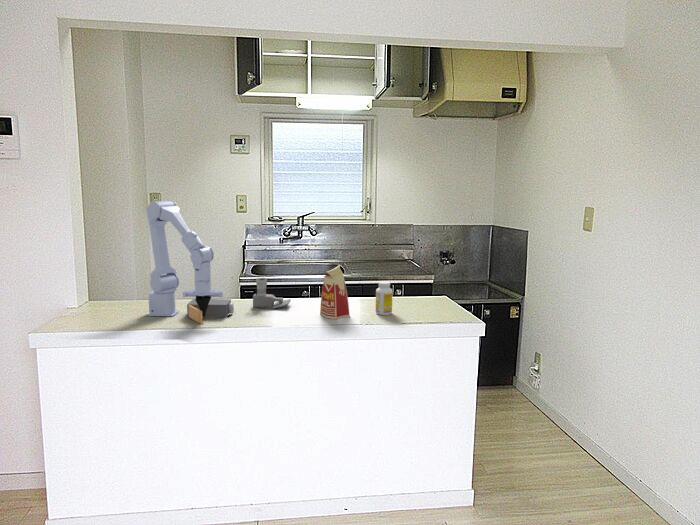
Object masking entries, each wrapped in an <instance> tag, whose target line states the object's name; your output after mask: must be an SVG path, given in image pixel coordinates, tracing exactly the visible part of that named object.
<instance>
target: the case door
mask: <svg viewBox="0 0 700 525" xmlns="http://www.w3.org/2000/svg"><path fill="white" fill-rule="evenodd" d="M187 318H190V319H192V320H193V321H195V322H196V323H199V324H203V317H202V311H201V310H199V309H197V308H195V307H193V306H191V305H188V316H187Z"/></svg>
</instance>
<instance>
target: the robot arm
mask: <svg viewBox="0 0 700 525" xmlns="http://www.w3.org/2000/svg"><path fill="white" fill-rule="evenodd" d="M180 210H181V209H180V207H179V206H178V204H177V202H176V201H175V200H164V201H162V200H161V201H151V202H149V204H148V206H147V207H146V212H147V220H148V227H149V233H150V240H151V246H152V252H153V259H154V265H155V268H154V269H153V270H152V271H151V272H150V273H149V274H150V280H149V281H150V282H149V286H150V289H151V290H152V291H150V292H149V295H148V312H149V313H148V317H174V316H175V315H176V314H178V312H180V310H179V309H176V291H177V289H178V287H179V286H180V278H179V275H177V271H176V269H175V268H174V267H172V266H171V260H170V255H169V249H168V244H167V243H168V241H167V234H166V230H165V226H166V225H167V223H168V222H170V224H171V225H172V226H173V227H174V228H175V229H176V231H177V232H178V233H179V234H180V235H181V242H182V243H183V245H184V246H185V247H186V249H187V251H188V252H189V254H190V256H189V257H190V262H192V267H193V269H194V290H193V289H192V290H183V291H182V297H183V298H187V297H193V298H194V299H195V301H196V302H197V304H198V306H199V308H200V310H201V311H202V316H206V311H207V307H208V304H209V301H210V299H212V298H214V297H215V298H223V297H224V290H221V291H220V290H212V278H211V277H212V276H211V272H212V271H211V269H212V268H211V262H212V261H213V260H214V257H215V256H214V255H215V254H214V251H213V249H212V247H210V246H208V245H206V244H204V243H203V241H202V239H200V237H199V236H198V233H197V232H195V231H192V230H190V228H189V227H188V225H187V223H186V221H185V220H184V218H183V217H182V215H181V213H180Z"/></svg>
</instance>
